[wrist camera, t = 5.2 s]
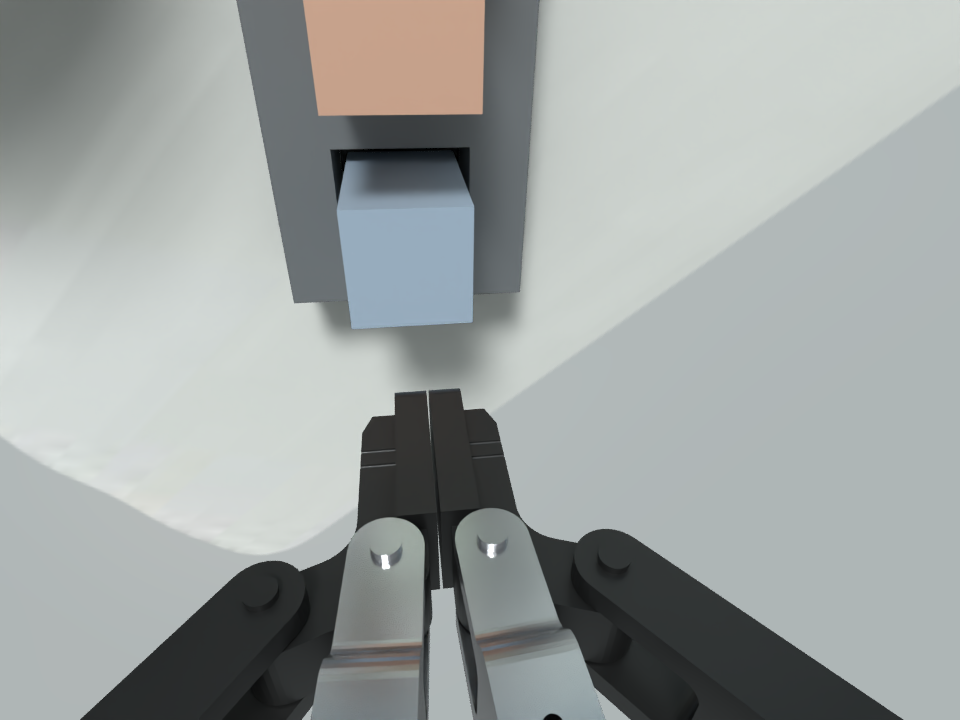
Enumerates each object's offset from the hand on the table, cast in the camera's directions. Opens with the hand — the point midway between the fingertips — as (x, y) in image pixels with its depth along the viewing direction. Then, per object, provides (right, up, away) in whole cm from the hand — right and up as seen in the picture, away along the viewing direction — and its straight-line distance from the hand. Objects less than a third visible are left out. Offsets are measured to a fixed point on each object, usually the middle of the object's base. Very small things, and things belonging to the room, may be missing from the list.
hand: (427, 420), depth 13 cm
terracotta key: (-2, +14, +7) cm, 15 cm away
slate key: (-2, +8, +12) cm, 15 cm away
